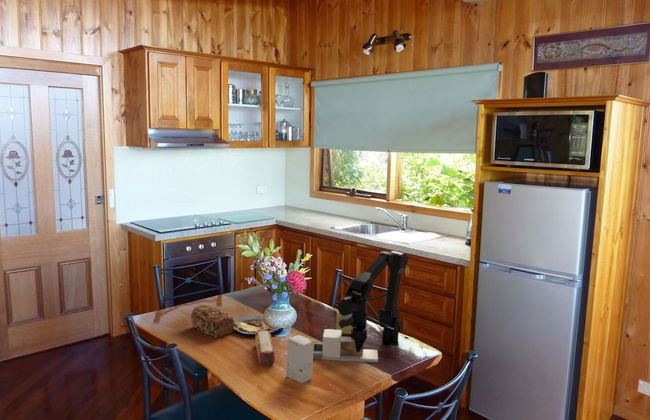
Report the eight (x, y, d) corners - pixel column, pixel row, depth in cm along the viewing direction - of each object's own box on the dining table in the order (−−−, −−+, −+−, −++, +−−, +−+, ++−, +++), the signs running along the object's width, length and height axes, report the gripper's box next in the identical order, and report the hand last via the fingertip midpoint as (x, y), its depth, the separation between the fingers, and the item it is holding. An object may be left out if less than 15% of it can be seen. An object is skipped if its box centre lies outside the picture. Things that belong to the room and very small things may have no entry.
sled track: (377, 352, 222) (378, 331, 221) (377, 362, 212) (378, 340, 211) (312, 348, 224) (313, 327, 222) (310, 358, 214) (311, 337, 213)
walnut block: (362, 350, 220) (363, 337, 219) (362, 355, 215) (363, 342, 214) (328, 348, 221) (328, 335, 220) (327, 353, 216) (328, 340, 215)
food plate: (294, 328, 245) (294, 321, 244) (253, 342, 228) (253, 334, 228) (260, 316, 262) (260, 309, 262) (219, 327, 246) (219, 320, 245)
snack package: (275, 366, 206) (275, 349, 205) (257, 367, 205) (258, 350, 204) (270, 344, 227) (270, 329, 226) (254, 345, 226) (255, 330, 225)
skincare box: (285, 376, 198) (286, 338, 195) (296, 371, 202) (297, 333, 200) (302, 384, 192) (303, 344, 190) (313, 378, 197) (314, 339, 195)
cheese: (359, 326, 250) (360, 306, 249) (358, 335, 240) (359, 314, 238) (336, 325, 251) (337, 304, 250) (335, 334, 241) (335, 312, 239)
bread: (190, 327, 243) (190, 306, 242) (210, 322, 251) (210, 301, 249) (215, 339, 231) (215, 317, 229) (235, 333, 238) (235, 311, 237)
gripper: (340, 301, 224) (339, 337, 227) (338, 317, 206) (337, 355, 208) (367, 303, 224) (365, 338, 226) (367, 318, 205) (365, 357, 208)
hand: (358, 347), depth 217 cm, fingers open, 9 cm apart
